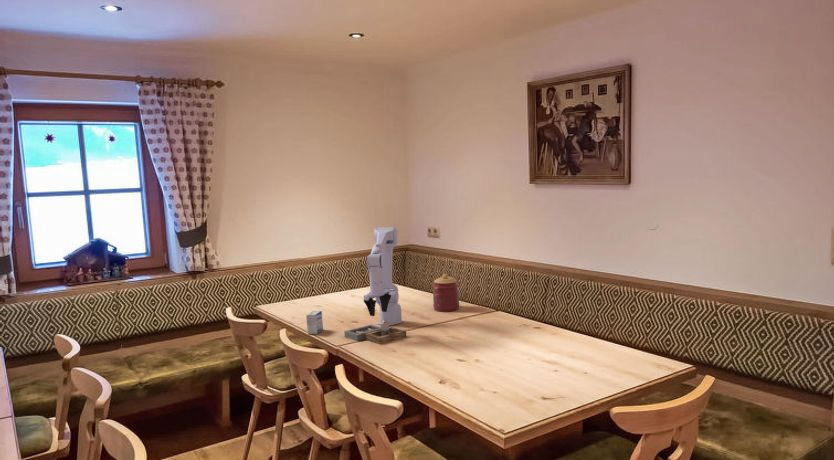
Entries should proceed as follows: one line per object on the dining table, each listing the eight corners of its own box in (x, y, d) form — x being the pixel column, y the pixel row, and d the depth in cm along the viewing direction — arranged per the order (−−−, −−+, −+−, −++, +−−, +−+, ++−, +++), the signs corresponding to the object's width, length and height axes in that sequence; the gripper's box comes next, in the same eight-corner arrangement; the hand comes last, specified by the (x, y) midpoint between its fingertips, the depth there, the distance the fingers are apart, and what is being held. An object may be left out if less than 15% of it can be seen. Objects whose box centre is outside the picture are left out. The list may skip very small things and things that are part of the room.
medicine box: (316, 334, 261) (315, 315, 261) (307, 334, 262) (306, 314, 261) (323, 329, 269) (322, 310, 268) (313, 329, 270) (312, 310, 269)
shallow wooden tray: (392, 332, 259) (391, 326, 259) (406, 336, 251) (406, 331, 251) (365, 339, 250) (364, 333, 250) (379, 344, 242) (378, 338, 242)
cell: (383, 334, 253) (383, 319, 252) (391, 335, 251) (390, 320, 251) (379, 336, 250) (378, 321, 249) (387, 337, 248) (386, 322, 248)
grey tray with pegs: (371, 329, 265) (371, 323, 264) (384, 333, 257) (383, 326, 257) (344, 336, 256) (344, 329, 255) (357, 340, 248) (356, 333, 248)
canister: (464, 307, 299) (462, 272, 297) (451, 313, 288) (450, 277, 286) (441, 305, 306) (440, 270, 304) (428, 310, 295) (426, 275, 293)
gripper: (381, 278, 261) (382, 308, 262) (357, 284, 249) (359, 316, 251) (393, 279, 256) (395, 310, 258) (370, 286, 245) (372, 318, 247)
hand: (378, 313), depth 254 cm, fingers open, 7 cm apart
